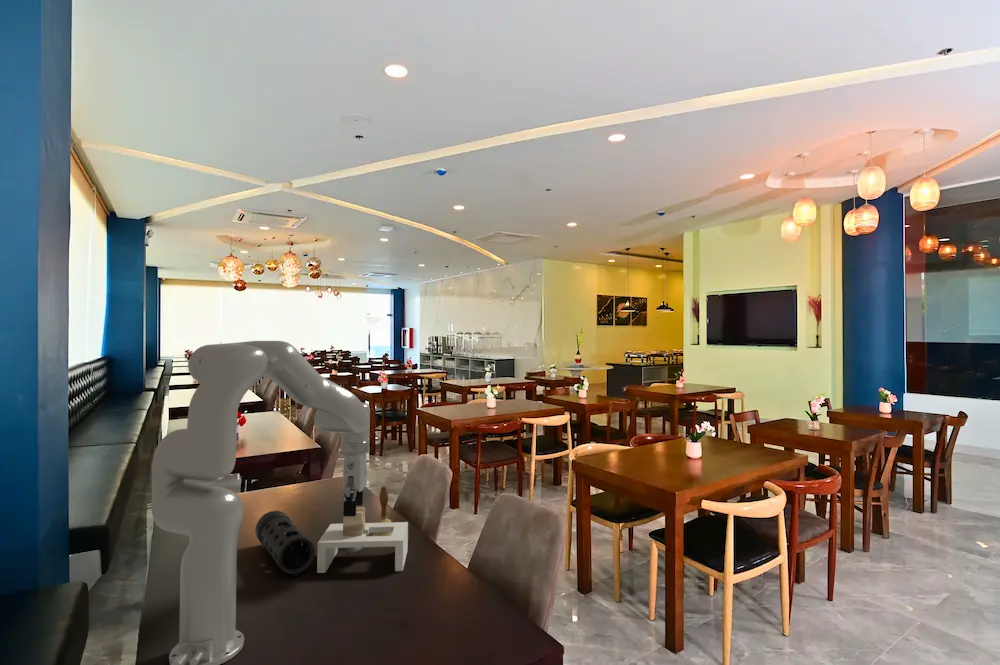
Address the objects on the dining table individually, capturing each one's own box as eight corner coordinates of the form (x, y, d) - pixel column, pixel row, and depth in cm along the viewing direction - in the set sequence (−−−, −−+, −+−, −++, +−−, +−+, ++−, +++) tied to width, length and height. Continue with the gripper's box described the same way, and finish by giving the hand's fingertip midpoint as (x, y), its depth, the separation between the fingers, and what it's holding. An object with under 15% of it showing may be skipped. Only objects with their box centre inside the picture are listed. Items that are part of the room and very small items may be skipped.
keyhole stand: (402, 571, 135) (403, 540, 135) (317, 573, 133) (317, 542, 133) (407, 549, 149) (407, 522, 149) (330, 551, 147) (330, 523, 147)
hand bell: (371, 545, 152) (371, 491, 152) (369, 535, 160) (369, 484, 160) (399, 542, 154) (400, 489, 155) (396, 532, 162) (396, 482, 163)
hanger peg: (361, 554, 138) (362, 512, 138) (342, 555, 138) (343, 513, 138) (364, 547, 143) (365, 507, 143) (346, 547, 143) (347, 507, 143)
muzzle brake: (276, 583, 128) (277, 541, 128) (253, 547, 150) (253, 511, 150) (315, 573, 133) (316, 533, 134) (287, 540, 156) (287, 506, 156)
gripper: (363, 453, 133) (361, 520, 132) (373, 442, 150) (372, 501, 149) (333, 453, 132) (331, 520, 131) (347, 442, 149) (346, 501, 149)
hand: (353, 510), depth 140 cm, fingers open, 9 cm apart
